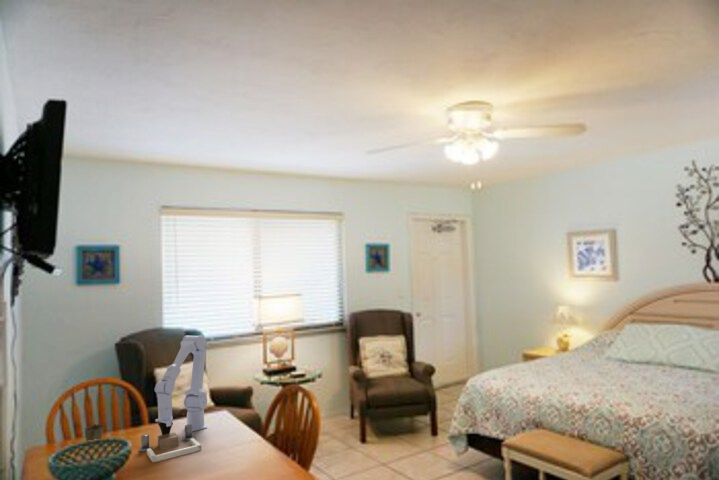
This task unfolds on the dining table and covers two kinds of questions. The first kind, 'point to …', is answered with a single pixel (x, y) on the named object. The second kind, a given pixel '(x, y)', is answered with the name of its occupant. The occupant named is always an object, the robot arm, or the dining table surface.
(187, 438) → the post
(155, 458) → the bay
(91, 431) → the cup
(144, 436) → the post
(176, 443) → the walnut block
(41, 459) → the dining table surface
